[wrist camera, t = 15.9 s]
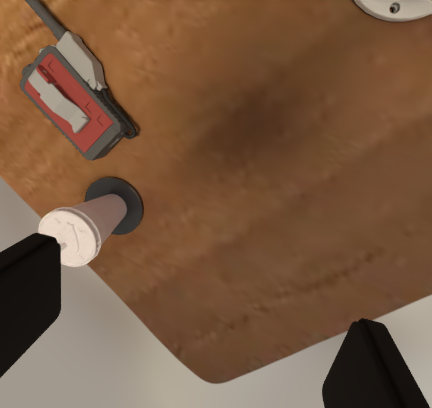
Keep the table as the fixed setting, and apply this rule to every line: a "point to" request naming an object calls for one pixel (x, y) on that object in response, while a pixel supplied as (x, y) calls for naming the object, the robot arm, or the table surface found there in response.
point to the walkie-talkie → (74, 92)
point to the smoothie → (83, 227)
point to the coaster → (126, 193)
